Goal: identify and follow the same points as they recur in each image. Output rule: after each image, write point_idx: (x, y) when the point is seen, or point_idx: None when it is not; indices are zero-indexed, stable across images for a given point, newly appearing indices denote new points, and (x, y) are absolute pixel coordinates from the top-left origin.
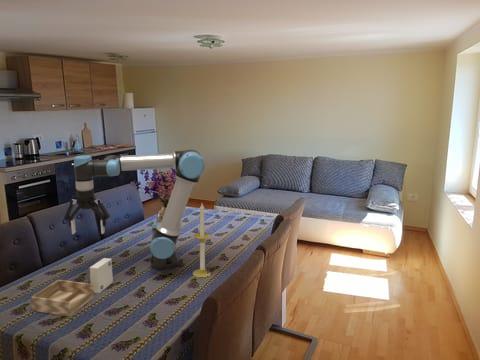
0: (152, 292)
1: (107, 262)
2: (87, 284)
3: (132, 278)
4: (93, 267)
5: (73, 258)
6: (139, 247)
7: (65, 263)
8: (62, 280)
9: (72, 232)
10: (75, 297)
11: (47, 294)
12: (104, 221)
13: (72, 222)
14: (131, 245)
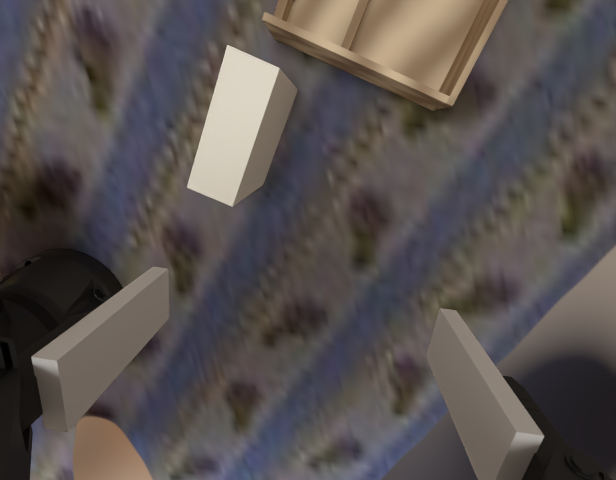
0: (48, 51)
1: (200, 148)
2: (293, 25)
3: (162, 193)
4: (256, 64)
5: (428, 400)
6: (203, 444)
7: None
8: (429, 91)
9: (456, 318)
10: (349, 20)
11: (479, 19)
12: (27, 356)
13: (502, 407)
14: (236, 465)
